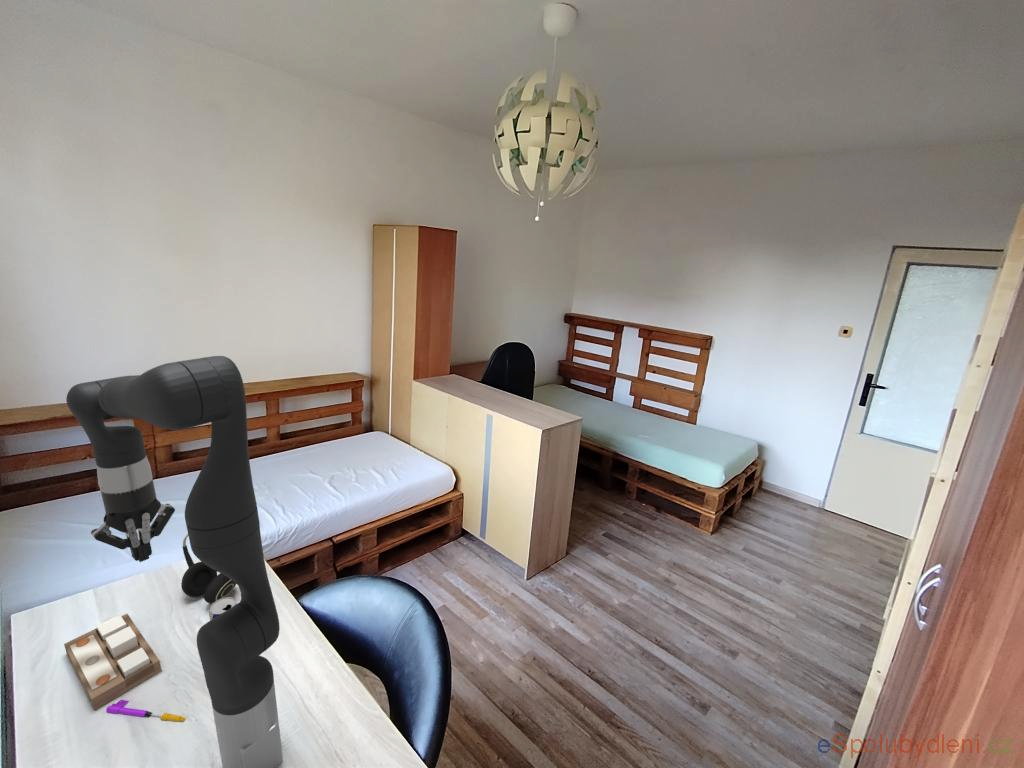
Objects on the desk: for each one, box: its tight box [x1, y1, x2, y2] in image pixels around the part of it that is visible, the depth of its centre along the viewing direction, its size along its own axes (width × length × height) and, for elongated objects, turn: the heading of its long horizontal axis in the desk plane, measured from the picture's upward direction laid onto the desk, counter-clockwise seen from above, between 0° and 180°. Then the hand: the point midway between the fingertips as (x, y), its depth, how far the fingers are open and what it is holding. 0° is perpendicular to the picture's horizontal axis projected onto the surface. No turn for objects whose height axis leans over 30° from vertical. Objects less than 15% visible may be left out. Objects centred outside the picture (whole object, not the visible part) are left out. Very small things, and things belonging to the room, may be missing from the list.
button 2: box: [117, 648, 150, 678], centre depth 94 cm, size 4×4×3 cm
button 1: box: [96, 614, 127, 642], centre depth 102 cm, size 4×4×3 cm
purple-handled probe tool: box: [105, 699, 187, 723], centre depth 88 cm, size 3×1×16 cm
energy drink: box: [208, 596, 238, 621], centre depth 101 cm, size 5×5×12 cm
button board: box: [63, 613, 163, 711], centre depth 97 cm, size 20×11×4 cm, turn 55°
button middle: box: [105, 626, 138, 659], centre depth 97 cm, size 4×4×3 cm
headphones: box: [180, 533, 237, 605], centre depth 114 cm, size 9×15×20 cm, turn 74°
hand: (143, 558), depth 88 cm, fingers closed
